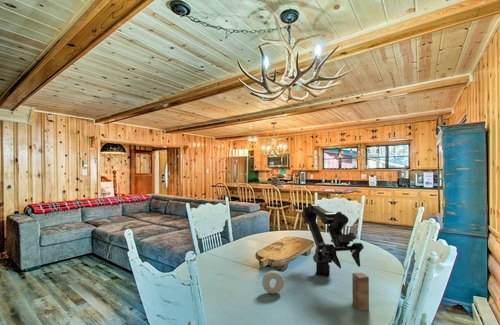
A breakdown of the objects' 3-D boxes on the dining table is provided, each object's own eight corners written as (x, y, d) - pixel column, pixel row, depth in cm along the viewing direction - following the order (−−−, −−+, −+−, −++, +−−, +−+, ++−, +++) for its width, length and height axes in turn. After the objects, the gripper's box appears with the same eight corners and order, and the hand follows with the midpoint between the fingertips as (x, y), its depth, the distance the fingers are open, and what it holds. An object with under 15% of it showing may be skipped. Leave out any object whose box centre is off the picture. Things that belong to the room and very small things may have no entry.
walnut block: (352, 304, 102) (352, 273, 103) (362, 303, 103) (361, 272, 103) (359, 310, 98) (358, 277, 98) (368, 309, 99) (368, 276, 99)
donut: (283, 291, 113) (283, 269, 114) (284, 295, 110) (284, 272, 110) (261, 291, 113) (261, 269, 113) (262, 295, 109) (262, 272, 110)
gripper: (324, 226, 112) (337, 260, 101) (361, 225, 115) (377, 257, 104) (316, 239, 120) (328, 271, 108) (351, 237, 123) (365, 268, 112)
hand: (350, 267), depth 108 cm, fingers open, 9 cm apart
